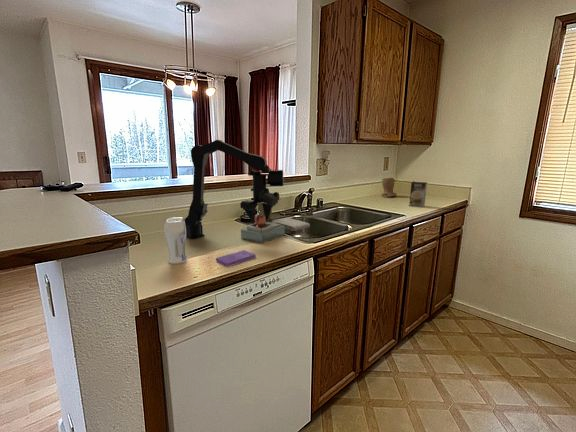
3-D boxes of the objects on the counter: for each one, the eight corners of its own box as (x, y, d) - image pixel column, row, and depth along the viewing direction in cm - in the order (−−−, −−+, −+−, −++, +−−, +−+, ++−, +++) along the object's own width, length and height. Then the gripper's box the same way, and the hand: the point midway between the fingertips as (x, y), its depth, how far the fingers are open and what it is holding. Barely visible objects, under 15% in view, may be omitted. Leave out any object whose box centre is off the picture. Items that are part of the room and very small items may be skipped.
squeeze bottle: (270, 222, 165) (269, 188, 161) (255, 221, 167) (254, 188, 162) (273, 218, 173) (273, 186, 169) (259, 218, 174) (259, 186, 170)
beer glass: (170, 257, 113) (167, 217, 110) (190, 257, 114) (187, 217, 110) (164, 265, 106) (160, 222, 103) (185, 264, 107) (182, 222, 104)
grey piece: (262, 243, 130) (262, 230, 129) (241, 238, 137) (240, 225, 136) (288, 232, 145) (288, 221, 144) (268, 229, 152) (268, 217, 151)
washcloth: (286, 221, 169) (286, 216, 168) (311, 227, 156) (311, 221, 155) (269, 225, 160) (269, 219, 160) (294, 232, 148) (294, 226, 147)
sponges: (255, 258, 114) (255, 254, 114) (227, 268, 105) (226, 262, 105) (244, 254, 119) (244, 249, 118) (215, 262, 110) (215, 257, 110)
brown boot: (384, 194, 259) (385, 176, 255) (398, 195, 252) (400, 177, 248) (376, 196, 247) (378, 177, 244) (391, 198, 240) (393, 178, 237)
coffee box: (408, 206, 210) (410, 182, 206) (410, 204, 215) (412, 181, 211) (423, 207, 205) (425, 183, 201) (424, 205, 210) (427, 182, 207)
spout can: (260, 230, 134) (260, 212, 132) (252, 229, 137) (252, 211, 135) (267, 228, 138) (267, 211, 136) (259, 226, 140) (259, 209, 139)
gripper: (259, 190, 121) (260, 229, 125) (287, 185, 136) (287, 220, 139) (238, 187, 127) (240, 224, 131) (267, 183, 142) (268, 216, 146)
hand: (260, 221), depth 137 cm, fingers open, 9 cm apart
